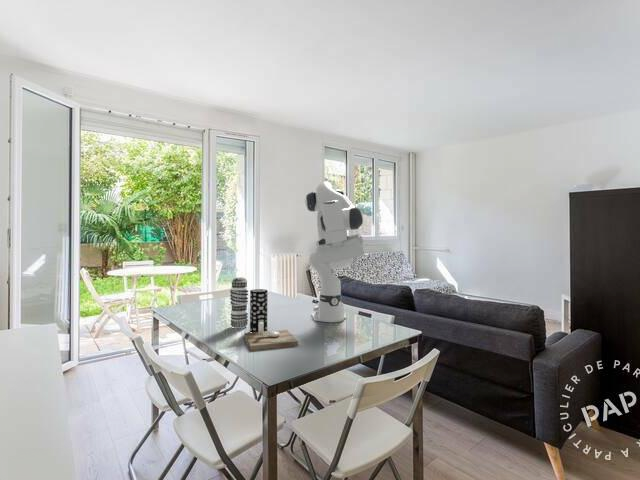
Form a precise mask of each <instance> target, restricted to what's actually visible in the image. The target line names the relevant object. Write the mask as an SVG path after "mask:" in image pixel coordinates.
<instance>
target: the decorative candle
mask: <svg viewBox="0 0 640 480" xmlns="http://www.w3.org/2000/svg"><path fill="white" fill-rule="evenodd" d="M230 289H231V290H229V293H230V295H229V296H230V298H229V299H230V306H231V310H230V311H231V313H230V327H231V326H232V327H234V328H244V329H246V328H245V327H247V326H248V325H249V324H248V321H249V320H248V317H249V316H248V308H247V307H248V306H247V305H248V302H249V297H247V296H249V290H248V280H247V279H246V278H245V277H242V276H241V277H234V278H233V279H232V280H231V287H230ZM247 328H248V327H247Z"/></svg>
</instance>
